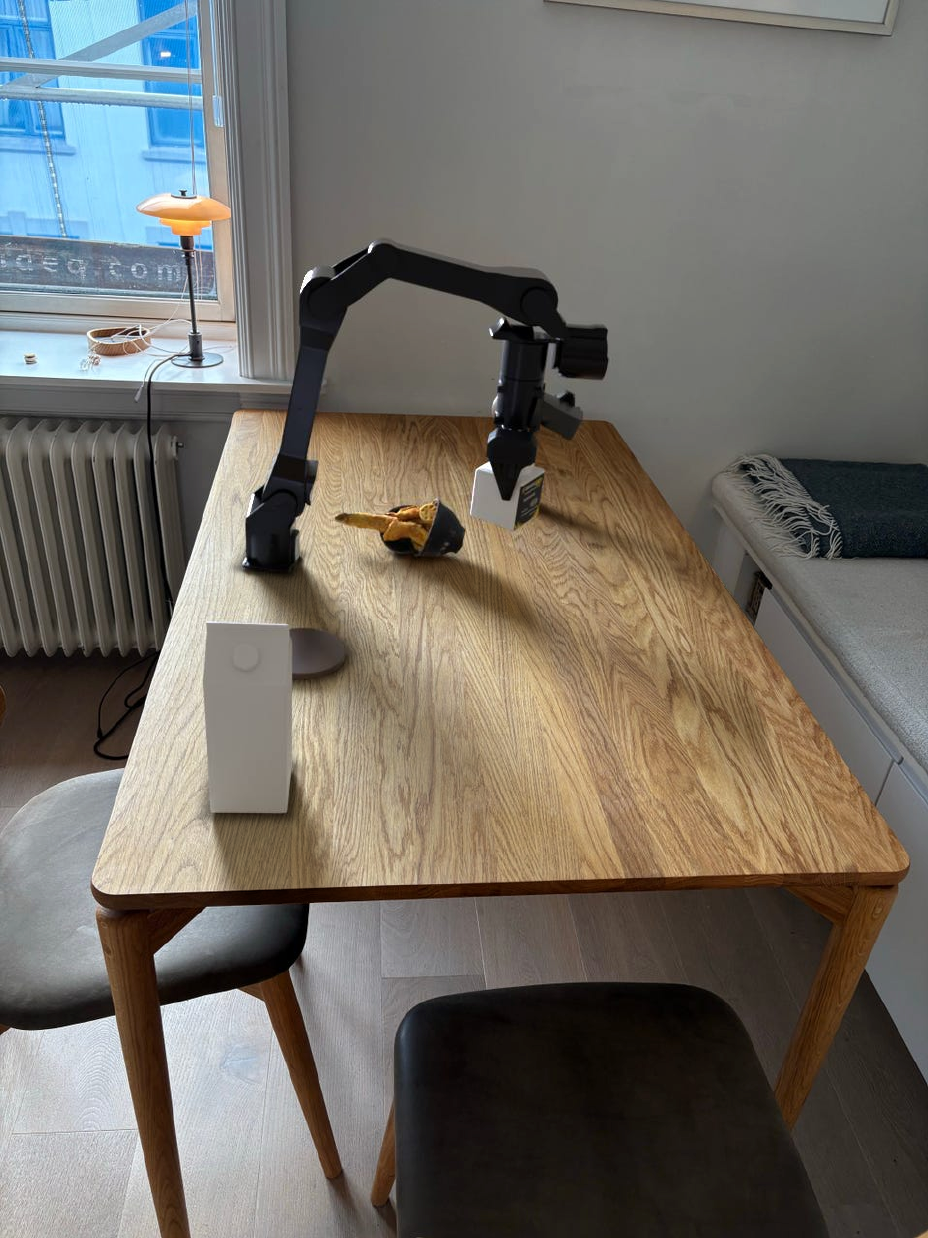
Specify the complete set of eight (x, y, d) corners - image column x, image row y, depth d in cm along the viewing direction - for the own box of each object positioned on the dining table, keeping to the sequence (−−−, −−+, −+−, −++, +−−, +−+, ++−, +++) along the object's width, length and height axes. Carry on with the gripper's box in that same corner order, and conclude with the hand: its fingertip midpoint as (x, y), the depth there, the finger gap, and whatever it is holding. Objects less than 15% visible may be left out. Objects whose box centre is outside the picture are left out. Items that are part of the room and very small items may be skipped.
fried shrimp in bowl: (470, 546, 132) (348, 499, 127) (441, 589, 140) (325, 547, 136) (478, 498, 137) (361, 452, 133) (449, 543, 146) (338, 501, 141)
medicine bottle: (514, 533, 128) (527, 449, 122) (469, 516, 131) (479, 433, 124) (538, 515, 133) (551, 435, 127) (494, 500, 136) (505, 420, 130)
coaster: (249, 673, 109) (249, 667, 109) (273, 628, 118) (273, 622, 117) (335, 684, 109) (335, 678, 108) (352, 638, 117) (353, 633, 117)
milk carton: (220, 764, 95) (211, 601, 85) (292, 765, 96) (292, 604, 86) (210, 814, 89) (200, 644, 79) (287, 814, 90) (286, 646, 80)
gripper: (585, 404, 113) (566, 523, 121) (584, 362, 129) (567, 469, 137) (492, 393, 114) (479, 512, 122) (503, 352, 130) (491, 459, 138)
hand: (508, 487), depth 130 cm, fingers closed on medicine bottle, 9 cm apart
